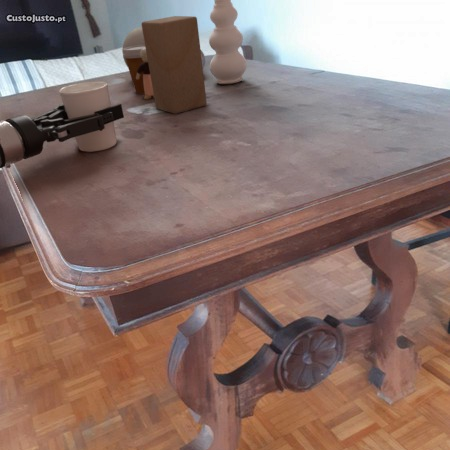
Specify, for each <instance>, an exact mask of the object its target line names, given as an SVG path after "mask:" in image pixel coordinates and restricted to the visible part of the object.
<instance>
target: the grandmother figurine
mask: <svg viewBox="0 0 450 450" xmlns="http://www.w3.org/2000/svg"><path fill="white" fill-rule="evenodd" d="M140 56H141V58H142V60H143V61H144V63H141V65H140V66H139V68H138V70H137V76H136V79H137V80H139V78H140V74H141V73H142V72H143V83H144V91H145V94H144V97H143V99H144V100H149V99H152V98H153V99H155V98H154V93H153V87H152V81H151V76H150V70H149V64H148V58H147V53H146V48H143V49H142V50H141V51H140Z"/></svg>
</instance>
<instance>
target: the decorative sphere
mask: <svg viewBox="0 0 450 450" xmlns="http://www.w3.org/2000/svg"><path fill="white" fill-rule="evenodd" d="M137 45H145V41H144V36H143V30H142V26H139V27H135V28H134V29H132V30H131V31H129V33H127V35H126V37H125V38H124V41H123V44H122V57H123V58H122V59H123V61H124V63H125V65H126V67H127V68H128V65H127V62H126V59H125V58H124V56H123V54H124V49H125V48H127V47H131V46H137Z"/></svg>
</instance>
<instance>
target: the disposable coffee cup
mask: <svg viewBox="0 0 450 450" xmlns="http://www.w3.org/2000/svg"><path fill="white" fill-rule="evenodd" d="M143 48H146V47H145V45H137V46H131V47H127V48H125V49H124V54H123V53H122V57H123V56H124V58H125V59H126V62H127V65H128V67H127V68H128V72H129V75H130V78H131V81H132V84H133V88H134V91H135V94H139V95H145V91H144V83H143V72H142V73H141V74H140V78H139V80H137V79H136V76H137V70H138V68H139V66H140V65H141V63H144V61H143V60H142V58H141V56H140V51H141V50H142V49H143ZM124 58H123V59H124ZM127 65H126V66H127Z"/></svg>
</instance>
